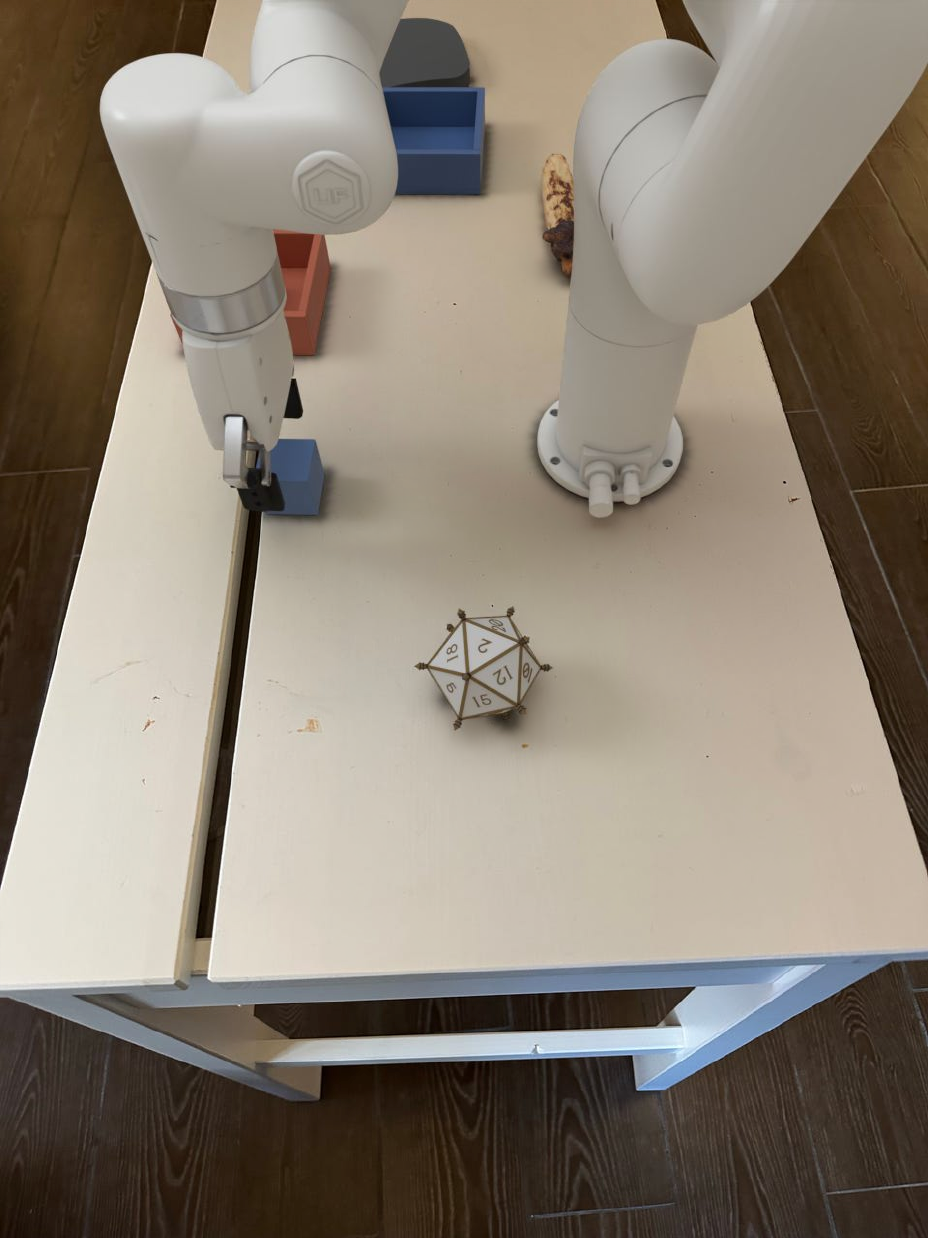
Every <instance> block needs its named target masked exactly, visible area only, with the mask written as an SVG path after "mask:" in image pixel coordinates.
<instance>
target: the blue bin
mask: <svg viewBox="0 0 928 1238" xmlns="http://www.w3.org/2000/svg"><path fill="white" fill-rule="evenodd" d="M382 90H383V94H384V99H385V104H386V108H387V113H388V117H389V122H390V126H391V130H392V135H393V139H394V144H395V148H396V153H397V162H398V181H397V188H396V191H395V195H481V194H482V183H483V181H482V180H483V168H484V167H483V165H484V151H485V137H486V136H485V135H486V87H485V86H481V87H480V86H479V87H477V86H476V87H473V86H472V87H471V86H470V87H468V86H467V87H382Z"/></svg>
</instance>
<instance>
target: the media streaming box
mask: <svg viewBox="0 0 928 1238" xmlns="http://www.w3.org/2000/svg"><path fill="white" fill-rule="evenodd" d="M470 67H471V66H470V59H469V55H468V52H467V48H466V46H465V43H464V41H463V38H462V37H461V35H460V33H459V32H458V30H457V28H456V27H455V26H454V25H453V24H451V23H449V22H445V21H443V20H440V19H435V18H427V17H406V18H401V19H400V21H399V23H398V26H397V28H396V31H395V33H394V35H393V38H392V40H391V43H390V45H389V48H388V50H387V53H386V55H385V58H384V60H383V63H382V66H381V69H380V73H379V75H380V80H381V85H382V87H468V86H469V85H470V81H471V80H470V79H471V74H470V73H471V72H470Z"/></svg>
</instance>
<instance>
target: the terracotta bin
mask: <svg viewBox="0 0 928 1238" xmlns="http://www.w3.org/2000/svg"><path fill="white" fill-rule="evenodd" d="M273 233H274V238H275V242H276V247H277V252H278V257H279V261H280V266H281V271H282V275H283V280H284V284H285V288H286V295H287V300H286V304H285V307H284V309H283V311H284V315H285V319H286V323H287V327H288V331H289V335H290V340H291V345H292V352H293V356H315V352H316V349H317V344H318V343H317V342H318V338H319V332H320V327H321V322H322V316H323V312H324V306H325V301H326V295H327V291H328V286H329V280H330V275H331V270H332V267H331V262H330V257H329V250H328V244H327V241H326V235H320V234H308V233H299V232H292V231H285V230H277V229H273ZM170 319H171V320H172V323H173V325H174V328H175V330H176V333H177V335H178V338H179V340H180V343H181V344H182V346H183V341H182V329H181V328H180V327H179V326H178V325H177V324H176V322H175V321H174V319H173V317H172V314H171V313H170Z"/></svg>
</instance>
